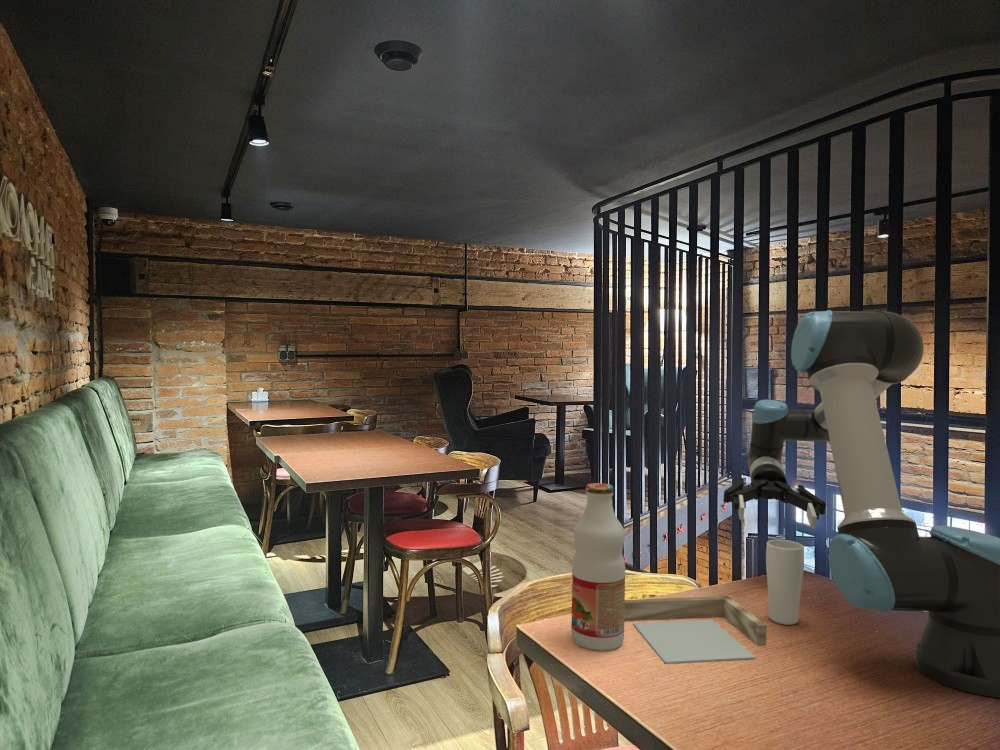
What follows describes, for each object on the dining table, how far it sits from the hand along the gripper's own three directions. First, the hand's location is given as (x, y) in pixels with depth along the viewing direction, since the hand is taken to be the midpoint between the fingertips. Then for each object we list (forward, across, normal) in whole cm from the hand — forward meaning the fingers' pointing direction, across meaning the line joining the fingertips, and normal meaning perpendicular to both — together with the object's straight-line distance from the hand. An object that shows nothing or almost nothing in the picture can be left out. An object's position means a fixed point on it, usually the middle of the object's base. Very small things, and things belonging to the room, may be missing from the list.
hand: (777, 518), depth 133 cm
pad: (+25, +15, -15) cm, 32 cm away
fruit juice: (+30, +32, -15) cm, 46 cm away
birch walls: (+20, +16, -16) cm, 30 cm away
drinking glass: (+10, -2, -17) cm, 20 cm away
